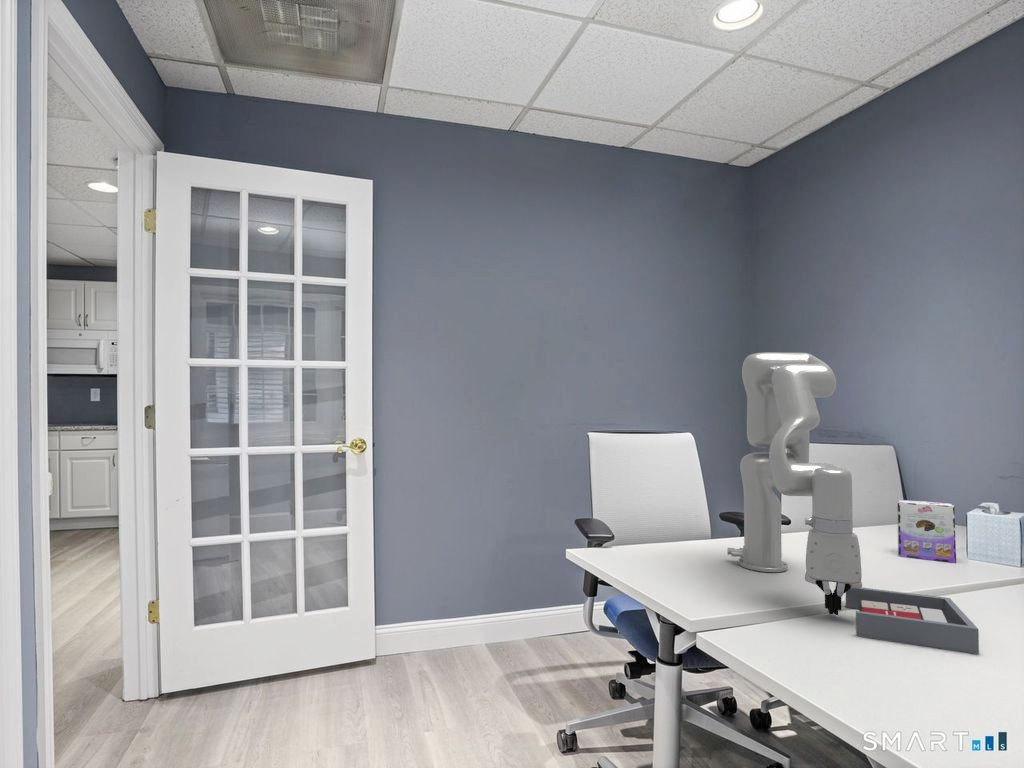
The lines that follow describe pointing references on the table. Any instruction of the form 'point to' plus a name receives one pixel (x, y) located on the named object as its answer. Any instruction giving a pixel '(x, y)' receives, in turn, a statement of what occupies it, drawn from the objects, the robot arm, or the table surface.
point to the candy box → (926, 530)
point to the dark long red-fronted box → (903, 611)
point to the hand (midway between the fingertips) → (833, 612)
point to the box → (914, 621)
